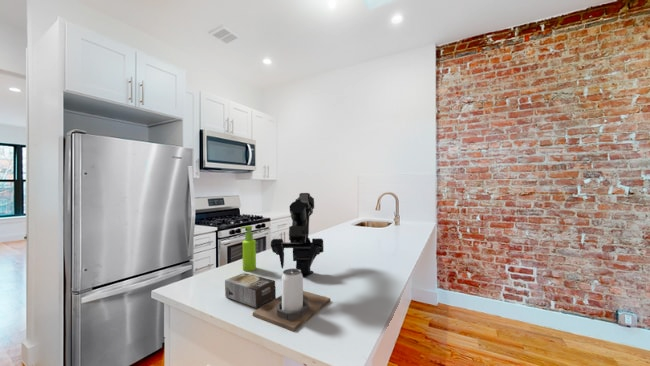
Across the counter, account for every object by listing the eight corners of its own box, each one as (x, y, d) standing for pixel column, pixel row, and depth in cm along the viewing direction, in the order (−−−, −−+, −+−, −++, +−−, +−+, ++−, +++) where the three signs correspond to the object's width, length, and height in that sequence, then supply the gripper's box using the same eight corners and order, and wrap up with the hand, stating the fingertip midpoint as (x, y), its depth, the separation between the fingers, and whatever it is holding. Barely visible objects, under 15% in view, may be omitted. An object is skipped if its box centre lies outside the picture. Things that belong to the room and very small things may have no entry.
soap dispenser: (242, 267, 122) (241, 225, 121) (257, 266, 122) (256, 225, 122) (239, 271, 116) (238, 227, 116) (254, 270, 116) (254, 227, 116)
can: (290, 317, 75) (289, 277, 74) (277, 309, 79) (277, 271, 79) (307, 310, 79) (306, 271, 79) (294, 302, 84) (294, 266, 84)
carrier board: (293, 290, 95) (293, 281, 95) (330, 301, 87) (330, 291, 87) (252, 315, 78) (252, 304, 78) (293, 331, 70) (293, 319, 70)
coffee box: (244, 271, 98) (276, 279, 89) (244, 288, 98) (276, 297, 90) (224, 279, 90) (256, 289, 82) (224, 297, 90) (257, 309, 82)
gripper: (271, 216, 92) (263, 256, 81) (322, 216, 91) (322, 256, 81) (276, 233, 100) (270, 271, 89) (323, 233, 99) (323, 271, 89)
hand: (295, 267), depth 87 cm, fingers open, 9 cm apart
